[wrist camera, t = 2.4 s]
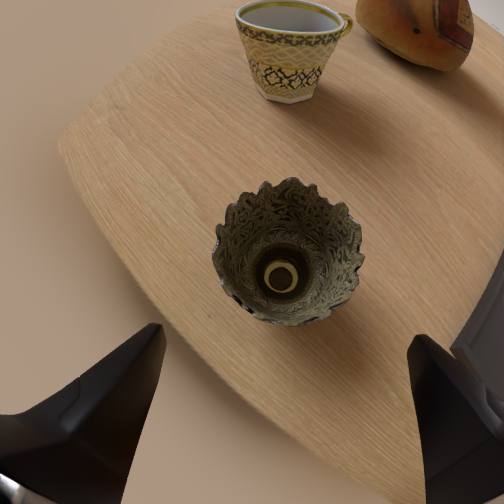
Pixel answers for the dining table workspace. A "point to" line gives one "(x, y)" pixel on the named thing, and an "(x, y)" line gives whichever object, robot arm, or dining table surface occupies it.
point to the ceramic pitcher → (421, 29)
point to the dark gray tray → (485, 336)
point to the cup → (288, 253)
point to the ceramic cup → (288, 45)
